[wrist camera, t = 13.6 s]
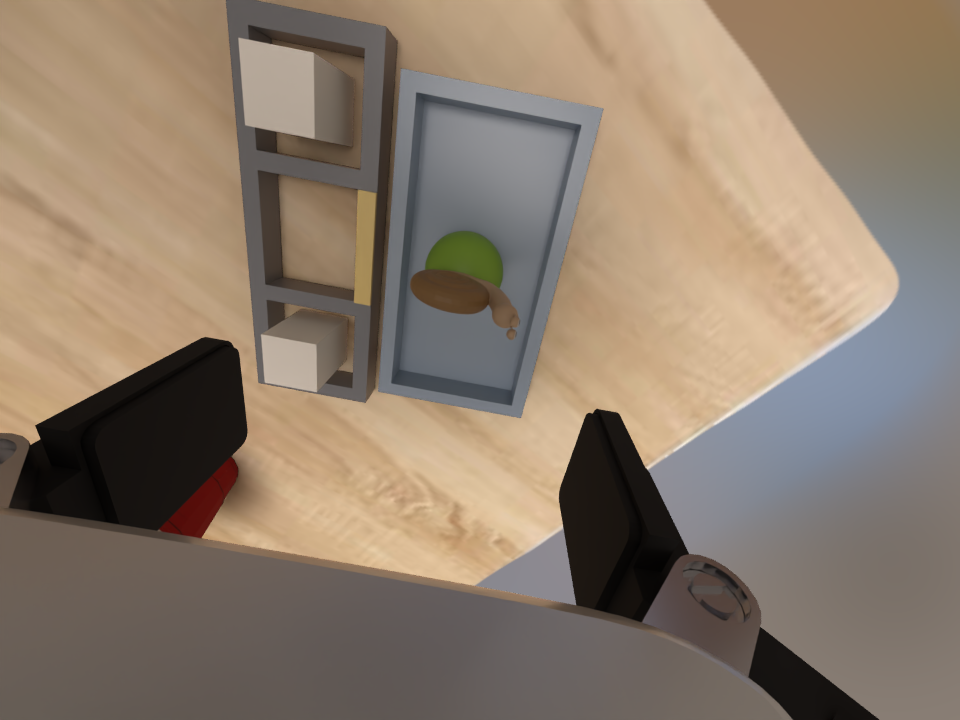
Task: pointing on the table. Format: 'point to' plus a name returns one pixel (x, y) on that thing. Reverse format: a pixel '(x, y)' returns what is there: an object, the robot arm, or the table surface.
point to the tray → (478, 231)
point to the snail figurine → (465, 279)
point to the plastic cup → (203, 503)
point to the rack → (370, 179)
